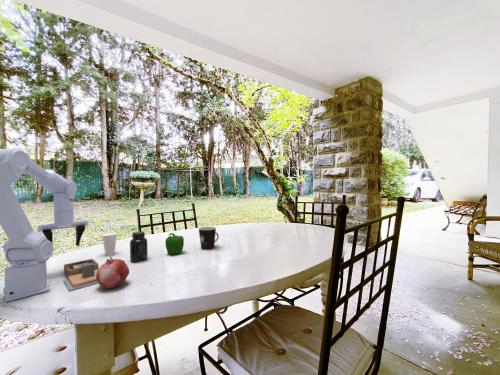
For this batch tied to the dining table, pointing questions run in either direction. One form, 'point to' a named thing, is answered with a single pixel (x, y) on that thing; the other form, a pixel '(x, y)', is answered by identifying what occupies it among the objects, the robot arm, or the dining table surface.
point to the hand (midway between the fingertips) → (65, 247)
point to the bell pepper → (174, 244)
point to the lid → (84, 276)
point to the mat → (76, 287)
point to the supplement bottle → (138, 247)
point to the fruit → (112, 273)
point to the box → (77, 267)
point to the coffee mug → (207, 237)
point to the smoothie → (109, 243)
